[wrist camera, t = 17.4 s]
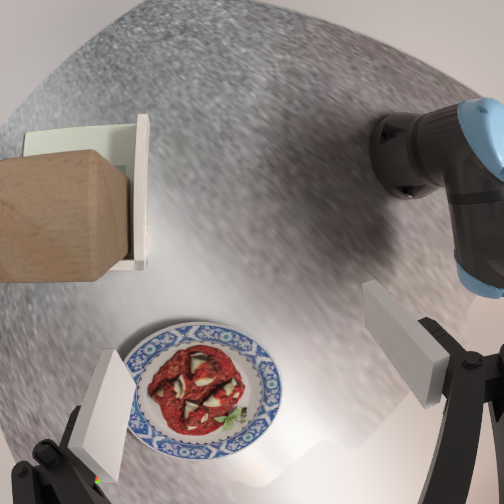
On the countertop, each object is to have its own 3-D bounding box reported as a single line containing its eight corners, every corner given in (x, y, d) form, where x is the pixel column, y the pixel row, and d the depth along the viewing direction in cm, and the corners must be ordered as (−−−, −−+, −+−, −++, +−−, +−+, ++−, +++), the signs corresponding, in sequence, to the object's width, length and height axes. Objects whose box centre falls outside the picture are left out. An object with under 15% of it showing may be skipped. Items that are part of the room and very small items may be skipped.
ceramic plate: (84, 372, 42) (80, 380, 39) (223, 283, 46) (227, 287, 43) (183, 472, 48) (184, 482, 45) (304, 402, 51) (310, 411, 49)
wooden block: (131, 252, 42) (98, 282, 22) (63, 255, 39) (-8, 284, 20) (130, 177, 40) (95, 147, 21) (62, 182, 38) (-11, 160, 19)
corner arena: (150, 124, 41) (147, 113, 36) (147, 264, 43) (144, 270, 38) (27, 133, 36) (13, 125, 32) (24, 265, 38) (9, 270, 34)
